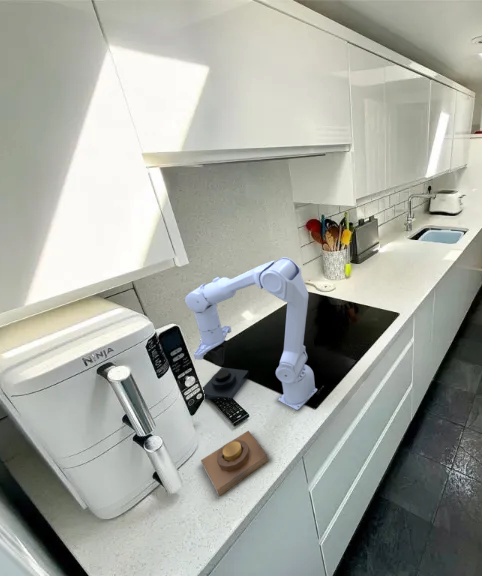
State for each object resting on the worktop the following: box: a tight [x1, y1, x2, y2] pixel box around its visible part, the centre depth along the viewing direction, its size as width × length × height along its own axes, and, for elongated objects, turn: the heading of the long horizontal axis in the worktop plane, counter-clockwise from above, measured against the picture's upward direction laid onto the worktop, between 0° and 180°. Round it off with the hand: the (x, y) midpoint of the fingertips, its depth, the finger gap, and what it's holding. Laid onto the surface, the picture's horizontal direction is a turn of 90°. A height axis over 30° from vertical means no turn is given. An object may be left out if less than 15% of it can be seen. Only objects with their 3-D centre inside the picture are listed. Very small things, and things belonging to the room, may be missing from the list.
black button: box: [214, 369, 230, 382], centre depth 97 cm, size 4×4×2 cm
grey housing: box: [202, 366, 250, 403], centre depth 98 cm, size 12×10×4 cm
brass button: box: [223, 441, 242, 461], centre depth 73 cm, size 4×4×2 cm
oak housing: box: [200, 430, 269, 497], centre depth 75 cm, size 12×10×4 cm
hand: (219, 364), depth 94 cm, fingers closed
